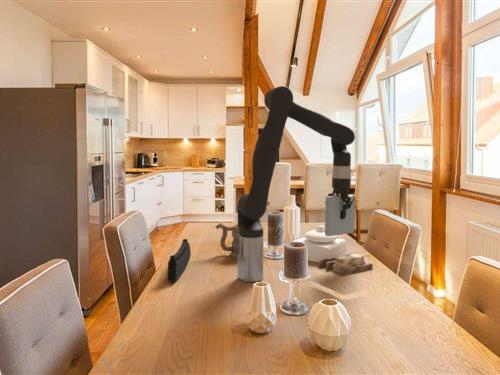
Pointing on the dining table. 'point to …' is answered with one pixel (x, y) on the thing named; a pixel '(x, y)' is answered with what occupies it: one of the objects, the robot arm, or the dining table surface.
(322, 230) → the butter dish
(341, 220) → the grey board
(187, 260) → the black curved panel
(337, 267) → the offcut lower
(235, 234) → the tankard
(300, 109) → the robot arm
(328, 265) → the walnut rack
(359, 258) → the offcut upper
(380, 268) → the dining table surface
